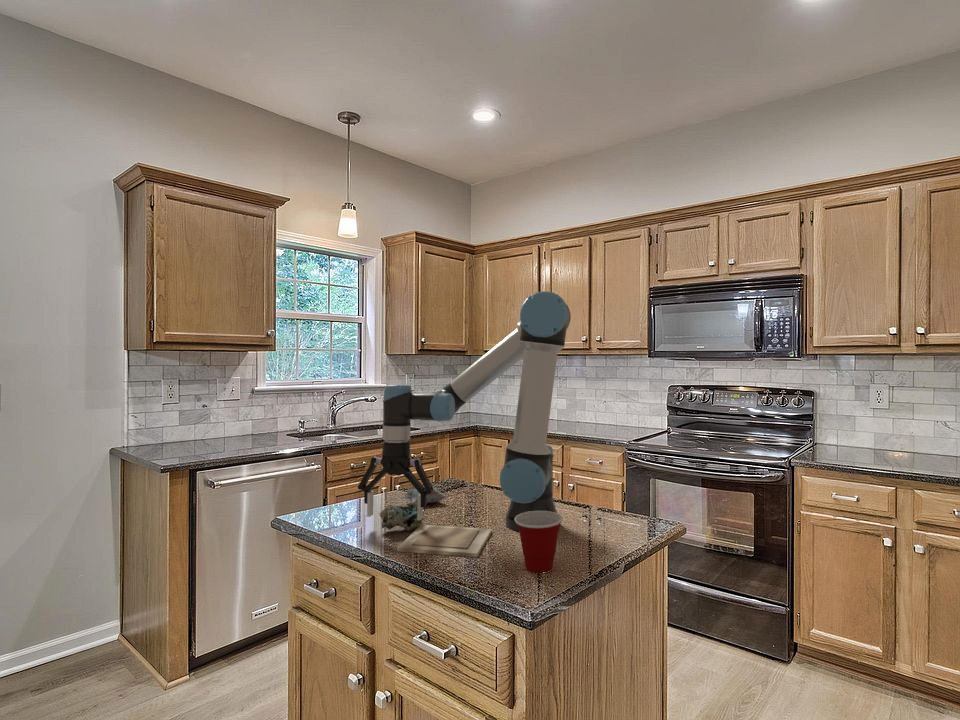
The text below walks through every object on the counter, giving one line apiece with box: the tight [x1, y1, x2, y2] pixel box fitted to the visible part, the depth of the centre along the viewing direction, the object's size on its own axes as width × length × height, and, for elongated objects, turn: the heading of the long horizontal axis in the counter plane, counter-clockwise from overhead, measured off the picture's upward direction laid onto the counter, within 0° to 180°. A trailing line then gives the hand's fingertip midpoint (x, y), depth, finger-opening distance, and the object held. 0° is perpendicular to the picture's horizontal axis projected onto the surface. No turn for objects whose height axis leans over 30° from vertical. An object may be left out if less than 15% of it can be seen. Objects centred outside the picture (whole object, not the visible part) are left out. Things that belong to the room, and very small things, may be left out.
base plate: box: [396, 524, 493, 558], centre depth 149 cm, size 20×20×1 cm
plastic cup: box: [514, 511, 563, 574], centre depth 129 cm, size 11×11×12 cm
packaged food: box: [404, 486, 448, 505], centre depth 187 cm, size 9×12×5 cm
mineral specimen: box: [378, 502, 425, 532], centre depth 159 cm, size 12×9×8 cm
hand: (394, 518), depth 158 cm, fingers open, 14 cm apart
